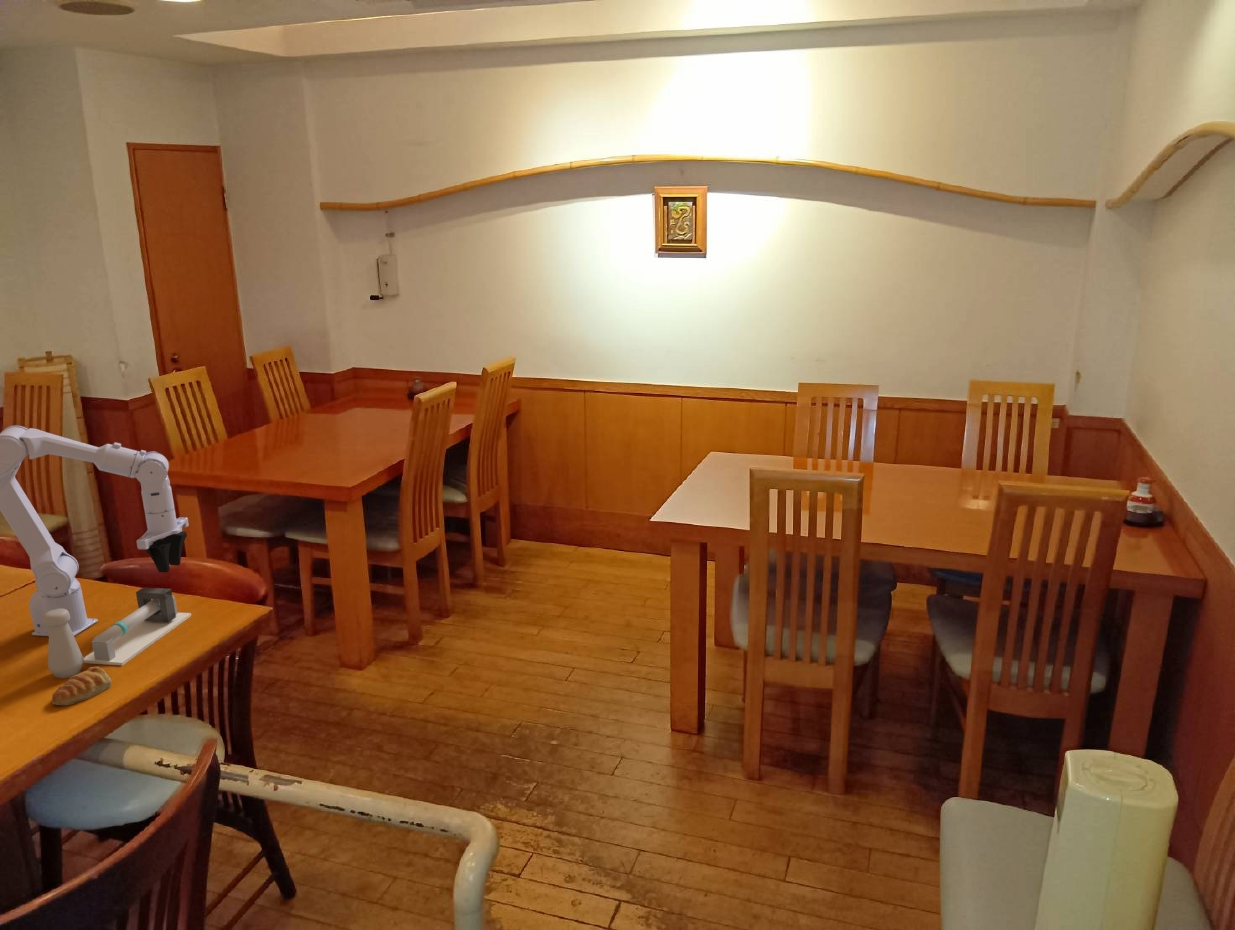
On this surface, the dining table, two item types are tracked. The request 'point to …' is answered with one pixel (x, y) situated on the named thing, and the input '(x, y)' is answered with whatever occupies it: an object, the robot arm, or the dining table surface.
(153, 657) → the dining table surface
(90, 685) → the pastry
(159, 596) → the grey square collar
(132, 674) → the dining table surface
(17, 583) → the dining table surface
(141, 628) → the pipe rail
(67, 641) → the salt shaker
